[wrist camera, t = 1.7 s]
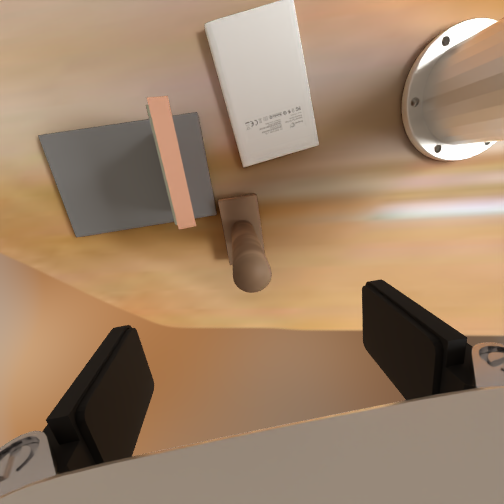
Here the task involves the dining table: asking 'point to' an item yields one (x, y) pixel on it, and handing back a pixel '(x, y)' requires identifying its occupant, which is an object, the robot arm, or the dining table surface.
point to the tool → (245, 242)
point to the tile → (170, 160)
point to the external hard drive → (264, 81)
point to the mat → (124, 174)
